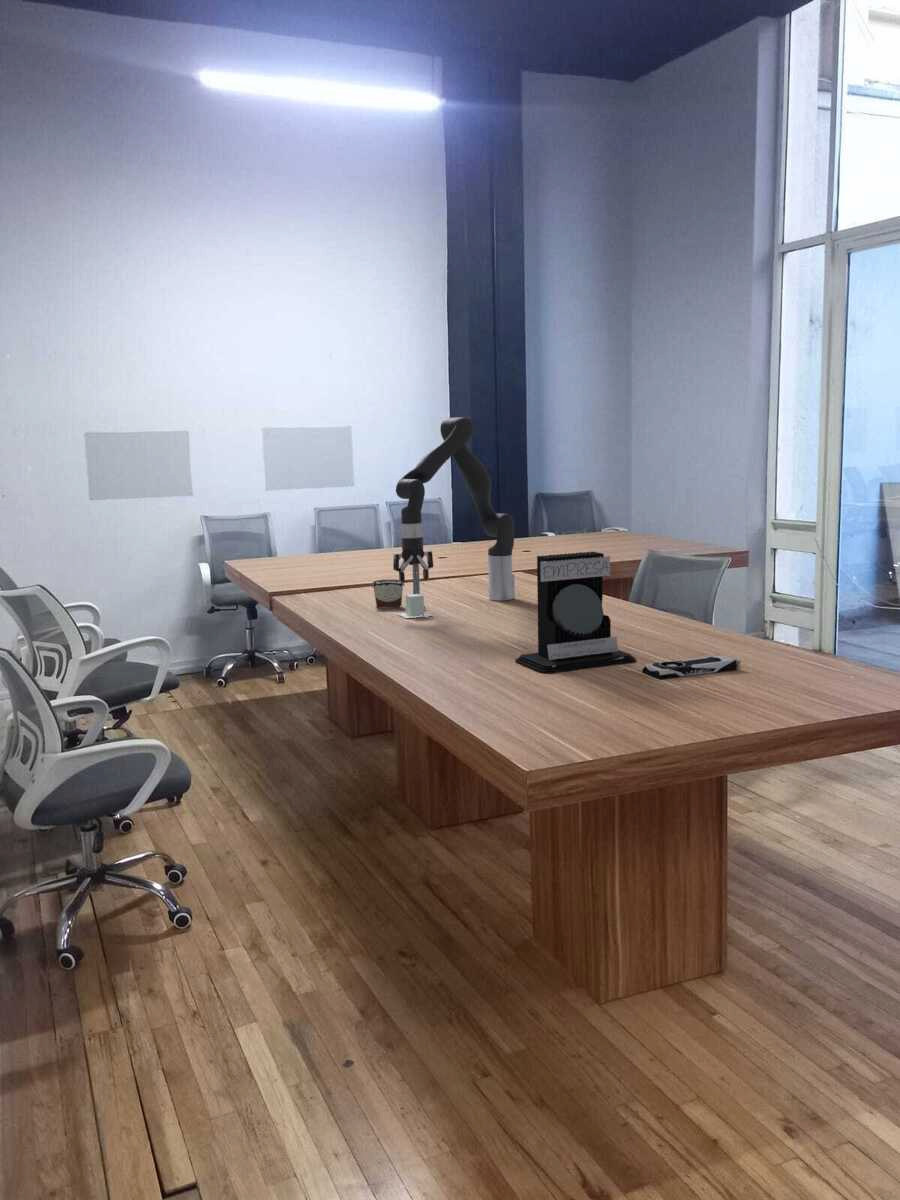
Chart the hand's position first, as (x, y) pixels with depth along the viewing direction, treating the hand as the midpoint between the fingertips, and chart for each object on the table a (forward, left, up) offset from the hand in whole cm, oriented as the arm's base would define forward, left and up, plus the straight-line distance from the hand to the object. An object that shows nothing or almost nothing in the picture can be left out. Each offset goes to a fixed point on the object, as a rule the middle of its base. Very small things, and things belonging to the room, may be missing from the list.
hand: (414, 581), depth 361 cm
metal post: (-5, -11, -12) cm, 17 cm away
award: (-14, +91, -13) cm, 93 cm away
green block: (0, 0, -12) cm, 12 cm away
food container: (+1, -24, -13) cm, 27 cm away
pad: (0, 0, -12) cm, 12 cm away
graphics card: (-35, +116, -13) cm, 121 cm away
